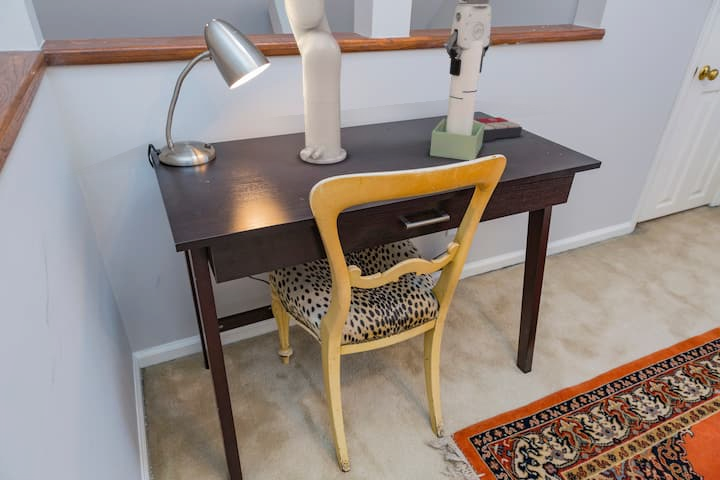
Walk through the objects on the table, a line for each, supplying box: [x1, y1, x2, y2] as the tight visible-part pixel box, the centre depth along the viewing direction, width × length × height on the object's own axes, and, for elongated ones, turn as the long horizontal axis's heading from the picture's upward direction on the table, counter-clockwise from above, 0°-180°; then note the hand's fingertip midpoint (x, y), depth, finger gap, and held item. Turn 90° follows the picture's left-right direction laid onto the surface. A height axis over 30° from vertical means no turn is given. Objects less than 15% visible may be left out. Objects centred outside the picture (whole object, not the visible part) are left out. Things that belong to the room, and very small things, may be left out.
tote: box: [429, 118, 485, 161], centre depth 138 cm, size 14×12×7 cm
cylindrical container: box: [446, 40, 483, 135], centre depth 131 cm, size 7×7×25 cm
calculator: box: [473, 116, 523, 143], centre depth 152 cm, size 11×4×15 cm
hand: (465, 73), depth 129 cm, fingers closed on cylindrical container, 7 cm apart
